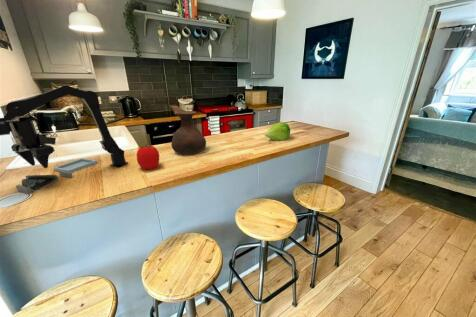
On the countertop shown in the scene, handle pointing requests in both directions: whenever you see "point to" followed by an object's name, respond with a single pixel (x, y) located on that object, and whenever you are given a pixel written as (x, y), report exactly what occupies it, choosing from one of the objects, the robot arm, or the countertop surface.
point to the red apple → (148, 157)
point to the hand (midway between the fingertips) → (39, 166)
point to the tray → (75, 165)
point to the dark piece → (38, 181)
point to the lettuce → (278, 131)
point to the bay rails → (27, 190)
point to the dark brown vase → (187, 134)
